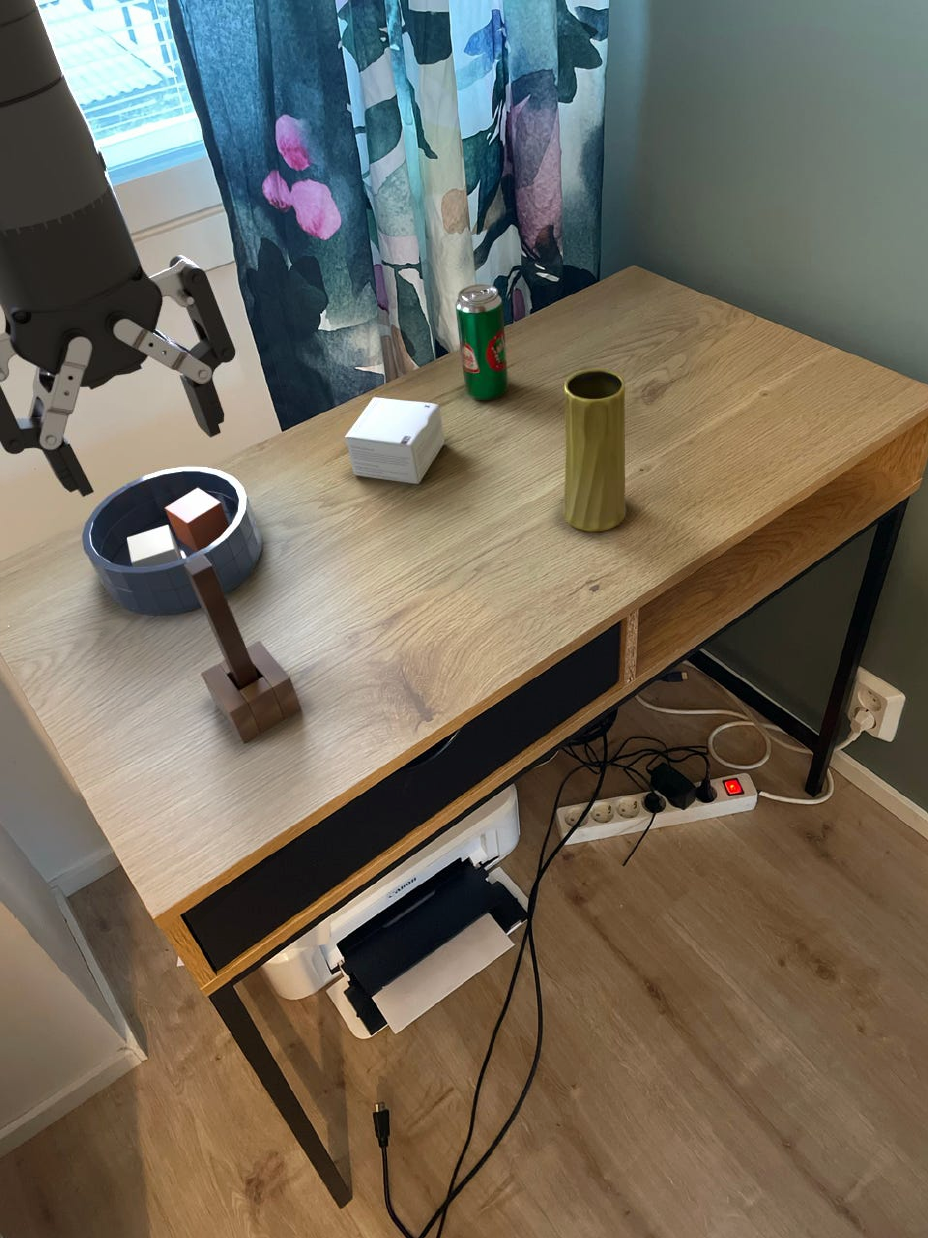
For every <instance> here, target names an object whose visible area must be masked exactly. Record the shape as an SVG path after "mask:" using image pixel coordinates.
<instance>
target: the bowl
mask: <svg viewBox="0 0 928 1238" xmlns="http://www.w3.org/2000/svg"><path fill="white" fill-rule="evenodd" d="M196 488H199V489H201V490H202V491H204V492H205V493H207V494H209V495H210V496H212V497H213V498H215V499H216V500H218V501H219V502H221V504H222V507H223V510H224V512H225V515H226V518H227V520H228V523H229V528H228V529H227V530H226V531H225V532H224V533H223V534H222V535H221V537H219V538H218V539H217V540H215V541H214V542H213V543H211V544H210V545H209V546H207V547H206V548H204V549H202V550H200V551H198V552H196V551H194V550H193V549H192V548H190V547H189V546H187V545H186V544H185V543H183V542H182V541H180V540H179V539H178V538H177V536H176V533H175V531H174V529H173V526H172V524H171V522H170V519H169V517H168V515H167V513H166V510H165V507H167V506H169V505H170V504H172V503H173V502H175V501H177V500H178V499H180V498H182V497H183V496H185V495H187V494H188V493H190V492H191V491H193V490H195V489H196ZM166 525H169V527H170V530H171V532H172V534H173V537H174V539H175V541H176V543H177V546H178V548H179V550H180V553H181V555H182V558H183V559H180V560H177V561H174V562H171V563H167V564H162V565H156V566H149V567H133V565H132V562H131V557H130V552H129V547H128V542H127V537H130V536H134V535H137V534H140V533H143V532H146V531H150V530H153V529H156V528H159V527H162V526H166ZM81 541H82V547H83V548H82V549H83V551H84V553H85V554H86V557H87V558H88V560H89V562H90V563H91V565H92V567H93V569H94V571H95V573H96V574H97V577H98V579H99V580H100V582H101V584H102V586H103V587H104V589H105V591H106V592H107V594H108V596H109V597H110V598H111V600H112V601H113V602H114V603H115V604H116V605H118V606H119V607H121V608H122V609H125V610H126V611H128V612H133V613H135V614H139V615H145V616H171V615H178V614H183V613H187V612H188V613H189V612H192V611H195V610H198V609H200V608H202V606H201V604H200V602H199V600H198V597H197V595H196V593H195V590H194V588H193V586H192V584H191V581H190V579H189V577H188V575H187V572H186V570H185V568H184V564H186V563H188V562H190V561H192V560H194V559H196V558H198V557H200V556H202V555H204V556H205V557H206V558H207V560H208V561H209V562H210V563H211V564H212V565H213V568H214V570H215V573H216V575H217V578H218V580H219V582H220V585H221V587H222V590H223V592H224V595H225V596H227V595H229V594H230V593H231V592H232V591H234V590H235V589H236V588H238V587H239V586H240V585H241V584H242V583H244V581H245V580H246V579H247V578H248V577H249V576H250V575H251V573H252V571H253V570H254V569H255V567H256V566H257V563H258V562H259V559H260V556H261V553H262V544H263V543H262V537H261V533H260V530H259V527H258V525H257V522H256V518H255V516H254V513H253V509H252V507H251V503H250V501H249V499H248V496H247V492H246V490H245V487H244V485H243V484H242V483H240V481H239V480H238V479H237V478H235V477H234V476H233V475H232V474H230V473H227V472H225V471H223V470H220V469H216V468H211V467H206V466H180V467H174V468H168V469H167V468H166V469H163V470H158V471H156V472H152V473H150V474H149V473H148V474H146V475H142V476H141V477H139V478H136V479H134V480H132V481H130V482H128V483H126V484H124V485H123V486H121V487H119V488H117V489H116V490H115V491H114V492H112V493H110V494H109V495H108V496H107V497H105V498H104V499H103V500H102V501H101V502H100V503H99V504H98V505H97V506H95V508H94V509H93V511H92V512H91V514H90V515H89V517H88V518H87V519H86V521H85V523H84V527H83V531H82V534H81Z"/></svg>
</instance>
